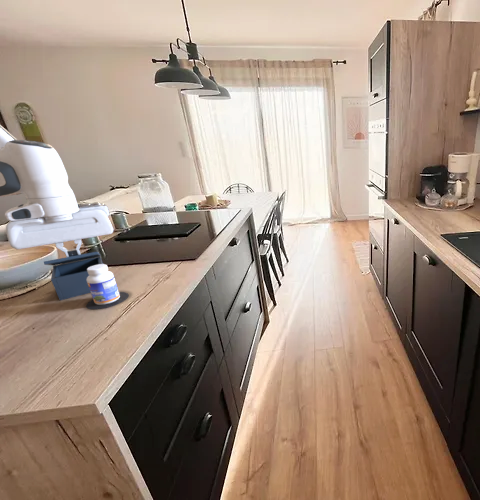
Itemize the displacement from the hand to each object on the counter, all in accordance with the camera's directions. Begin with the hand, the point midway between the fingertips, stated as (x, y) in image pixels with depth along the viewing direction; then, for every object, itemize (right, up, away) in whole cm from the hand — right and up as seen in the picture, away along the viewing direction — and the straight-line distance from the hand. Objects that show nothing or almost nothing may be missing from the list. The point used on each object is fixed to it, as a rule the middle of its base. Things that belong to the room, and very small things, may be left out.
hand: (74, 255), depth 80 cm
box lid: (-1, -1, +1) cm, 2 cm away
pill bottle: (+12, -12, -3) cm, 17 cm away
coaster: (+12, -12, -3) cm, 17 cm away
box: (-1, -10, +4) cm, 10 cm away
